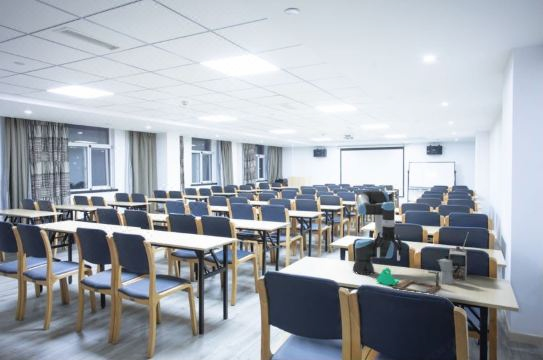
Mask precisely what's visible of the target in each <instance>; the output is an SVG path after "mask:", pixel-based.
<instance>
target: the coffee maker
mask: <svg viewBox="0 0 543 360" xmlns="http://www.w3.org/2000/svg"><path fill="white" fill-rule="evenodd" d="M436 261H437V262H438V265H439V266H440V267H439V268H440V273H439V283H440V284H443V285H454V283H455V282H454V279H453V275H452V273H451V272H452V270H453V266H457V265H458V268H457V269H456V270H455V272H454V273H455V274H456V272H457V271H458V269H459V268H460V267H461V266H460V264H459V263H458V262H456V261H453V260H450V259H449V254H445V255H444V258H441V259H437V260H436Z"/></svg>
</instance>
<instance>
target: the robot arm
mask: <svg viewBox="0 0 543 360" xmlns="http://www.w3.org/2000/svg"><path fill="white" fill-rule="evenodd" d="M389 196H390V195H389V193H388V192H387V191H386V190H365V191H361V192H360V193H358V194H357V196H356V198H355V202H356V204H357V215H361V216H374V225H375V226H374V227H375V238H374V240H372V239H370V238H362V239H358V240H356V241H355V243H354V245H355V246H354V248H355V250H354V251H355V254H354V255H355V257H354V259H355V260H354V263H353V266H352V272H353V271H354V272H357V273H362V274H361V275H372V274H371V273H373V274H375V267H374V265H373V259H391V258H392V257H393V255H394V249H395V247H396V248H397V250H396V261H400V260H401V256H402V251H404V250H406V249H405V247H404V244H403V242H402V240H401V238H400V234H395V228H396V227H395V225H396V224H395V221H396V220H395V209H396V208H395V202H391V201H390V197H389ZM394 246H395V247H394ZM354 272H353V273H354ZM357 273H356V274H357Z"/></svg>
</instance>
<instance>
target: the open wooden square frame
mask: <svg viewBox="0 0 543 360" xmlns="http://www.w3.org/2000/svg"><path fill="white" fill-rule="evenodd" d="M439 272H440V271H431V270H430V271H429V270H428V271H427V273H428V274H433V275H435V284H433V283H427V282H423V281H417V280H413V279H408V278H405V279H404V280H401V281H399V283H397V284H396V285H391V289H393V288H395V289H394V290H397V289H400V290H399V291H402V290H407V291H414V292H421V293H429V294H431V295H433V294H435V292H437V291H439V290H440V289H441V285H440V284H439V283H440V282H439V279H440V273H439ZM411 284H413V285H417V286H423V287H428V288H429V289H427V290H426V291H423V290H417V289H413V288H409V287H408V286H410V285H411ZM407 291H406V292H407Z"/></svg>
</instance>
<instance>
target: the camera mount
mask: <svg viewBox="0 0 543 360" xmlns="http://www.w3.org/2000/svg"><path fill="white" fill-rule="evenodd" d="M376 282H377V283H381V284H382V285H384V286H394V285H396V284H398V283H399V282H400V280H399V279H395V278H394V276H393V275H392V271H391V268H389V267H386V268H383V270H382V271H381V272H380V274H379V275H378V277H377V278H376Z"/></svg>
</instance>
